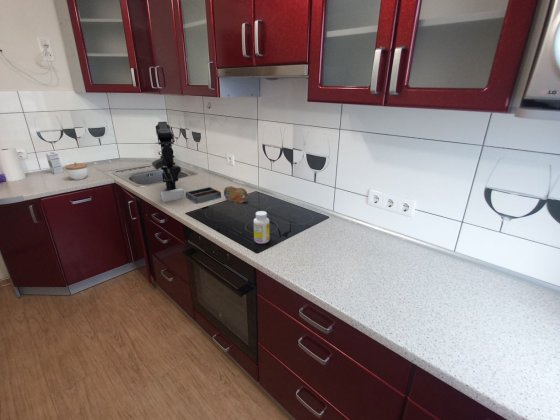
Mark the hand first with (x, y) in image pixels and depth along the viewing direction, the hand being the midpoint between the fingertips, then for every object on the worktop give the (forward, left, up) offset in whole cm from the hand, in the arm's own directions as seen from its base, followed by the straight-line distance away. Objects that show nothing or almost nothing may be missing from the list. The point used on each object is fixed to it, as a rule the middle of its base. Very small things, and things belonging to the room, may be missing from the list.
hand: (170, 181), depth 169 cm
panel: (0, 0, -11) cm, 11 cm away
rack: (+9, +15, -11) cm, 20 cm away
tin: (+25, +27, -11) cm, 38 cm away
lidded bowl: (-78, -35, -11) cm, 86 cm away
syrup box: (-103, -45, -11) cm, 113 cm away
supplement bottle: (+72, +10, -11) cm, 74 cm away
